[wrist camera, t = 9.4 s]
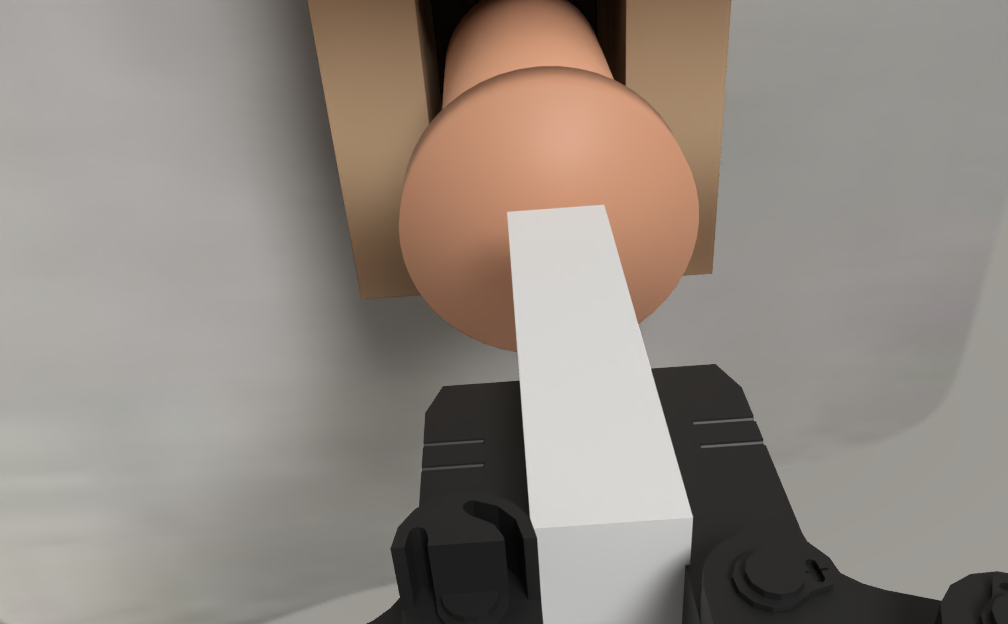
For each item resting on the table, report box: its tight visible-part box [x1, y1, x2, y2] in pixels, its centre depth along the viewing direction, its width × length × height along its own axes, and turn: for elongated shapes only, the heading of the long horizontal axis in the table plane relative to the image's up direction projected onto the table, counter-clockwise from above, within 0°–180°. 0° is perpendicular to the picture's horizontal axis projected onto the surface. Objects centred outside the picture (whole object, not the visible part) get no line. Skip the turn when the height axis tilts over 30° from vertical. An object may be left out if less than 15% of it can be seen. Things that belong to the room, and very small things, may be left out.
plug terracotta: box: [399, 0, 699, 352], centre depth 19 cm, size 5×5×9 cm
